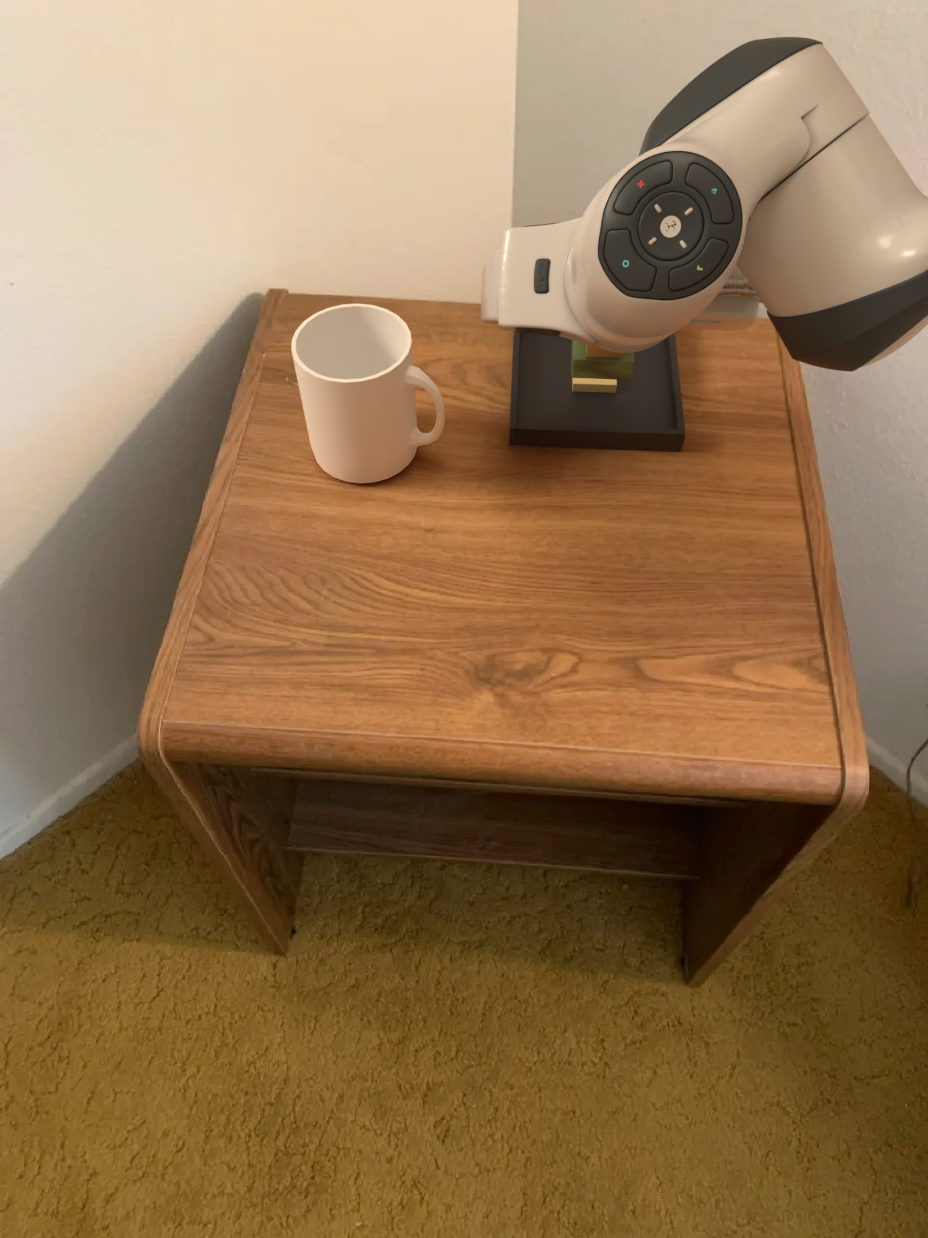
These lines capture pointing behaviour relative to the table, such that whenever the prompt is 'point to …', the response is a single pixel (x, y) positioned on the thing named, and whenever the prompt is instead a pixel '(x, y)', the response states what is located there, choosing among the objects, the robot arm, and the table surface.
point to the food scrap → (594, 385)
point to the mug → (361, 392)
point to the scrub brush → (600, 363)
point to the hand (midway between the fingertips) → (607, 311)
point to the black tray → (594, 400)
